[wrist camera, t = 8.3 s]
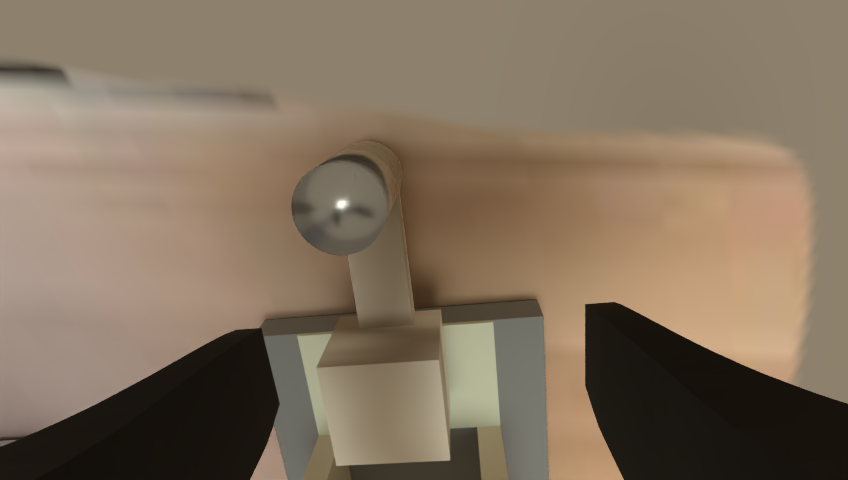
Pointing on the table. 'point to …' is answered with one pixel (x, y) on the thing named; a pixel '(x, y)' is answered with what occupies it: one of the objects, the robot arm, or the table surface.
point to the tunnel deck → (469, 397)
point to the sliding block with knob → (375, 316)
